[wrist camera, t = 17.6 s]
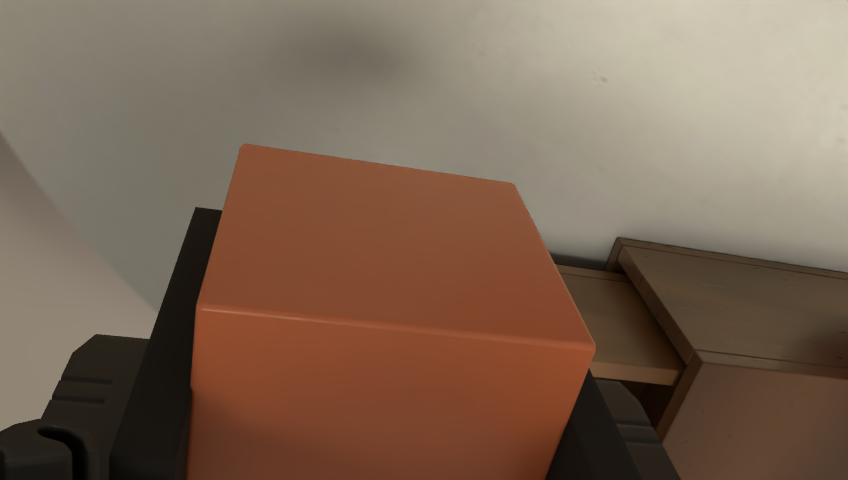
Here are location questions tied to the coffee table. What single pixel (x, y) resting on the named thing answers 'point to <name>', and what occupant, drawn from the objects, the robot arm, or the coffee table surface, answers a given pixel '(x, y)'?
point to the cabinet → (748, 362)
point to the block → (379, 328)
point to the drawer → (626, 338)
